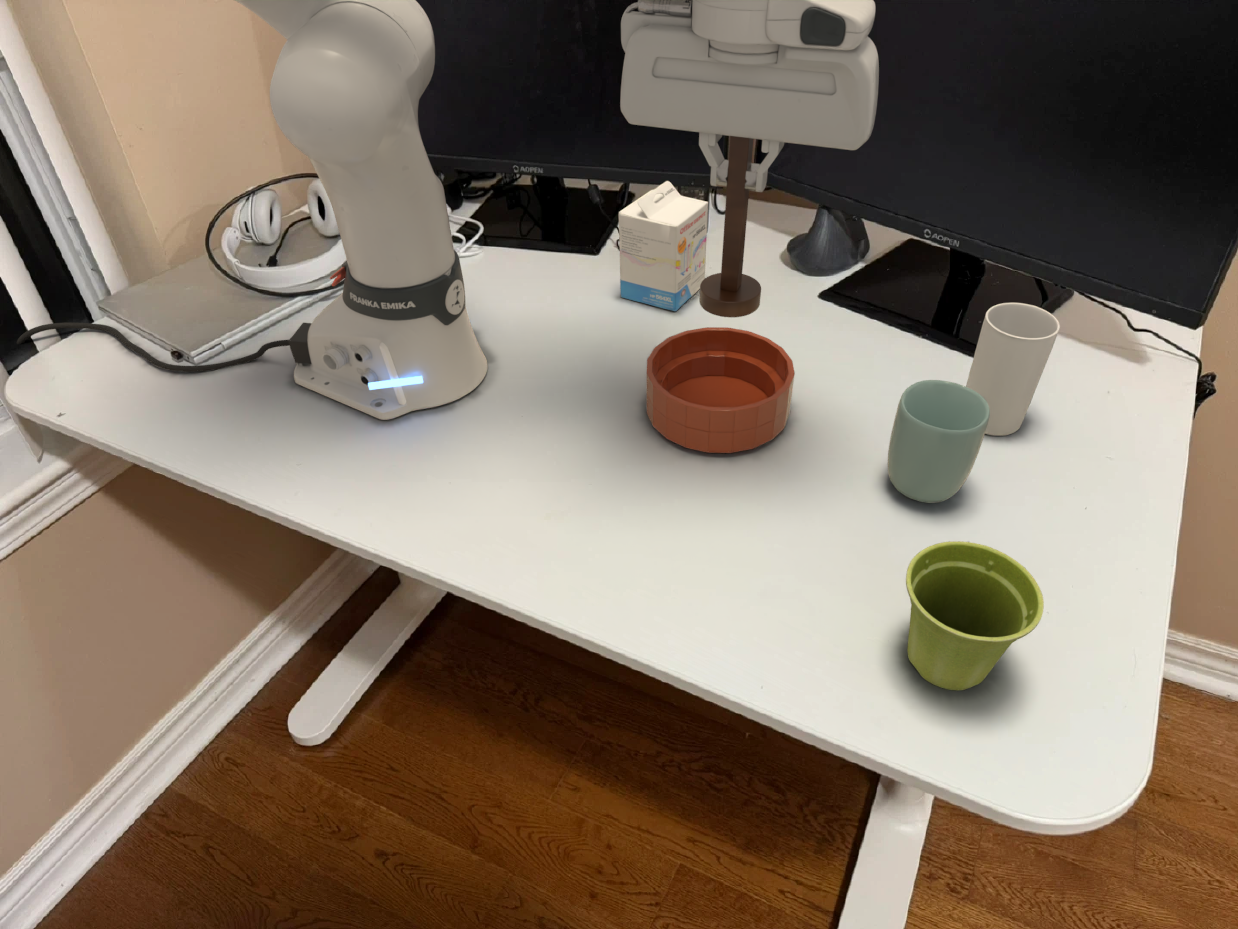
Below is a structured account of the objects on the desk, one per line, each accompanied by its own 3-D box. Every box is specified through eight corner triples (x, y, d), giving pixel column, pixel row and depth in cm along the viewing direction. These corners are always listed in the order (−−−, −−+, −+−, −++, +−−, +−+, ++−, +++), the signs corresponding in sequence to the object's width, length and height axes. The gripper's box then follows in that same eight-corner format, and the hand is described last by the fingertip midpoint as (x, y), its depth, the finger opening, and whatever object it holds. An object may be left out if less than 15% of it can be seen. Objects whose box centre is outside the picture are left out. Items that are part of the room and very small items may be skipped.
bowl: (626, 439, 88) (625, 393, 85) (672, 361, 99) (673, 317, 95) (769, 471, 84) (775, 423, 80) (800, 386, 95) (807, 341, 91)
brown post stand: (691, 311, 77) (700, 114, 66) (709, 282, 81) (720, 92, 70) (751, 322, 76) (770, 122, 64) (766, 292, 80) (787, 99, 68)
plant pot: (1007, 727, 62) (1042, 656, 56) (876, 689, 65) (898, 617, 59) (1012, 631, 69) (1045, 559, 63) (893, 600, 71) (915, 528, 66)
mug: (1013, 446, 86) (1049, 346, 78) (947, 424, 89) (976, 325, 81) (1039, 396, 92) (1075, 300, 84) (977, 377, 95) (1007, 282, 87)
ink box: (675, 313, 107) (677, 213, 98) (618, 297, 111) (616, 199, 102) (706, 284, 113) (710, 186, 104) (651, 269, 116) (651, 174, 107)
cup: (972, 476, 83) (1000, 394, 76) (952, 525, 78) (979, 442, 71) (893, 451, 86) (914, 370, 79) (869, 497, 81) (888, 415, 74)
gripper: (605, 4, 63) (610, 184, 72) (885, 25, 57) (852, 218, 66) (635, -15, 67) (636, 157, 76) (898, 3, 61) (865, 187, 71)
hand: (738, 186), depth 71 cm, fingers closed on brown post stand
